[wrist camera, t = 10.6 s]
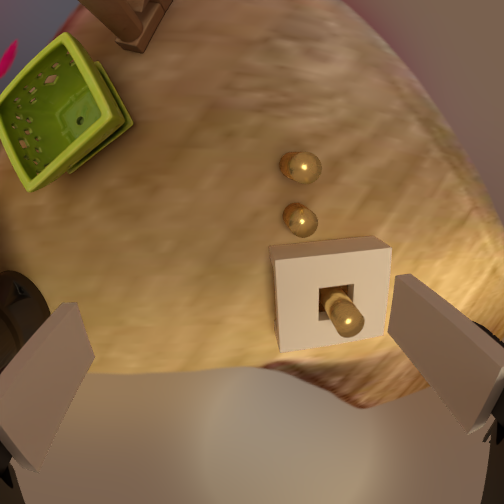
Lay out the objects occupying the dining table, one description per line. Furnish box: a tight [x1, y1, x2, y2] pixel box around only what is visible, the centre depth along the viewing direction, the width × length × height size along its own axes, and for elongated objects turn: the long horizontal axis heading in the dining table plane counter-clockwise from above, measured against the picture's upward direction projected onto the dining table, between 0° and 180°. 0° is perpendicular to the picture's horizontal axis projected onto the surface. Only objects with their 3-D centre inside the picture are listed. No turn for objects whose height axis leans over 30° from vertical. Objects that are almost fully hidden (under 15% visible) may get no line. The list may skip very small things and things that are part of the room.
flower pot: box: [0, 32, 133, 192], centre depth 30 cm, size 14×14×13 cm
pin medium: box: [279, 152, 322, 184], centre depth 37 cm, size 4×4×8 cm
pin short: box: [283, 203, 318, 238], centre depth 40 cm, size 4×4×5 cm
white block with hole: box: [269, 236, 392, 353], centre depth 43 cm, size 16×14×6 cm
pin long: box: [319, 286, 365, 338], centre depth 41 cm, size 4×4×12 cm
